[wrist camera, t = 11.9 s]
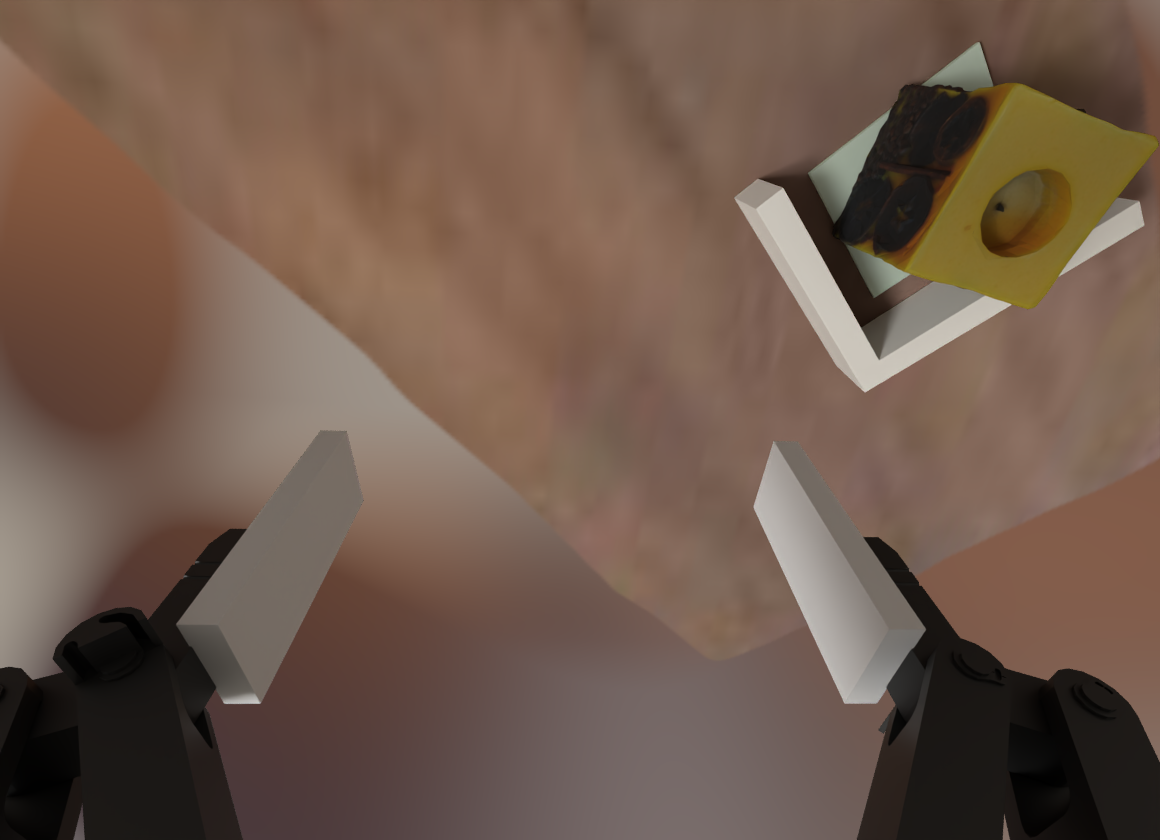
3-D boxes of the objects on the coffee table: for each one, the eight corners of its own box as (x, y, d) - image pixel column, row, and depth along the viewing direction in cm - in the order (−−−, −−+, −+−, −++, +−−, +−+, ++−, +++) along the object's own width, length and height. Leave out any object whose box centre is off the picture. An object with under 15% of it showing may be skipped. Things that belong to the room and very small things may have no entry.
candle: (900, 82, 33) (1014, 73, 25) (1026, 127, 35) (1173, 133, 27) (824, 236, 39) (897, 272, 30) (936, 269, 40) (1036, 312, 32)
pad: (807, 172, 36) (809, 173, 36) (976, 42, 33) (979, 41, 32) (872, 296, 42) (874, 297, 41) (1025, 196, 38) (1028, 196, 37)
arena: (734, 197, 37) (755, 208, 33) (1016, -28, 31) (1088, -50, 27) (836, 365, 45) (864, 392, 41) (1080, 212, 38) (1144, 225, 34)
